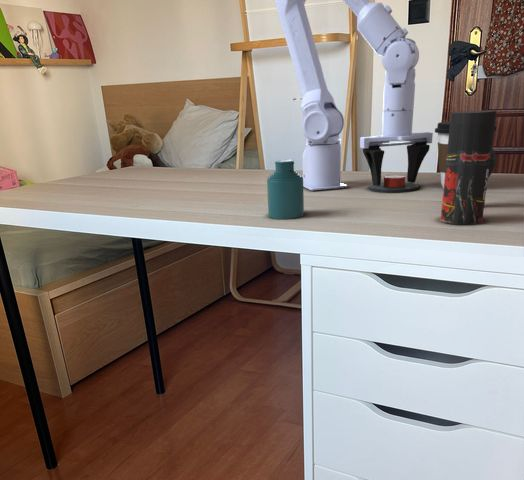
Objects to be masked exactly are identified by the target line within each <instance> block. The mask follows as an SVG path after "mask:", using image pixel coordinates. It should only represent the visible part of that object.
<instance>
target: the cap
mask: <svg viewBox="0 0 524 480" xmlns="http://www.w3.org/2000/svg"><path fill="white" fill-rule="evenodd" d="M405 182H406V175H402V174H390V175H389V174H388V175H385V176H383V183H384V187H403V186H405Z"/></svg>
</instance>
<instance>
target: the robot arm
mask: <svg viewBox="0 0 524 480" xmlns="http://www.w3.org/2000/svg"><path fill="white" fill-rule="evenodd" d="M306 1H307V0H274V2H275V7H276V11H277V15H278V18H279V22H280V25H281V28H282V31H283V35H284V39H285V42H286V45H287V49H288V52H289V56H290V59H291V63H292V65H293V70H294V72H295V76H296V79H297V83H298V87H299V90H300V94H301V96H302V100H301V105H300V111H301V115H302V121H301V130H302V134H303V135H304V137H305V139H306V140H305V148H304V150H303V153H302V177H303V188H305V189H307V190H309V191H324V190H334V189H344V188H348V184H346V183H342V182H341V172H342V171H341V169H342V167H341V166H342V165H341V164H342V162H341V160H342V139H341V138H340V135H341V133H342V131H343V129H344V126H345V117H344V115H343V113H342V111H340V109H339V108H338V107H337V105H336V102H335V99H334V97H333V95H332V94H331V92H330V90H329V89H328V85H327V81H326V79H325V75H324V72H323V67H322V64H321V61H320V57H319V53H318V51H317V50H318V49H317V45H316V42H315V39H314V35H313V32H312V28H311V25H310V21H309V16H308V14H307V10H306V7H305V4H306ZM342 1H343V2H344V3H345V4H346V6H347V7H348V8H349V9H350V10H351V12H353V14H354V15H355V16H356V19H357V20H356V22H357V23H356V29H357V31H358V32H359V34H360V35H361V36H362V37H363V39H364V40H365V42H367V44H368V45H369V46H370V48H371V49H372V50H373V51H374V53H375V54H376V55H377V56H378V57H379V56H380V57H381V64H382V66H383V68H384V70H385V71H384V73H385V74H384V85H383V101H382V102H383V103H382V122H381V123H382V125H381V135H379V134H378V135H371V136H361V137H359V148H360V149H362V153H363V156H364V157H365V160H366V162H367V165H368V167H369V171H370V175H371V180H372V184H373V185H375V186H380V183H382V167H383V160H384V155H385V150H383V149H382V148H383V147H394V146H406V152H407V171H406V172H407V176H406V181H407V182H409V183H415V184H416V181H417V177H418V175H419V172H420V171H419V170H420V168H421V166H422V164H423V161H424V159H425V157H426V155H428V153H429V151H430V146H431V145H430V144H433V135H434V133H433V132H413V124H414V123H413V122H414V108H415V107H414V106H415V94H416V93H415V92H416V82H415V81H416V68H415V67H417V64H418V62H419V60H420V51H419V47H418V46H417V43H416V41H415V40H414V39H412V38H409V37H407V35H408V34H409V31H408V30H407V28H406V27H403V28H402V27H401V25H400V24H399V23H398V21H397V20H396V19H395V18H394V17H393V15H392V12H393V9H392V8H391V7H390V5H388V4H385V5H384V4H383V3H382V2H371V1H370V0H342Z"/></svg>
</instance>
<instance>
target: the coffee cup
mask: <svg viewBox="0 0 524 480" xmlns="http://www.w3.org/2000/svg"><path fill="white" fill-rule="evenodd" d="M436 126H437V127H435V128H434V133H436V134H437V139H438V142H437V154H438V170H439V172H440V184H441V186H442V188H443V190H444V180H445V170H446V159H447V149H448V139H449V128H450V120H448V121H439V122H438V123H437V125H436ZM495 131H497V126H495V127H494V132H495Z"/></svg>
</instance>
